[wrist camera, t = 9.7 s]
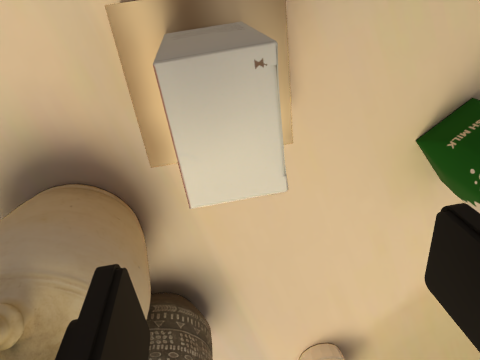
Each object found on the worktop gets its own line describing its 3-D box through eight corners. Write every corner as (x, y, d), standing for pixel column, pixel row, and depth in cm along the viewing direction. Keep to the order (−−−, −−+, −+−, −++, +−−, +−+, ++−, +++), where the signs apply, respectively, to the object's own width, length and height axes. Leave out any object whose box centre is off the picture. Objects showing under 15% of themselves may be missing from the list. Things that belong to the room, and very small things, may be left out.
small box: (163, 32, 23) (148, 57, 14) (243, 19, 24) (279, 36, 15) (187, 139, 27) (187, 213, 18) (255, 127, 28) (290, 194, 19)
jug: (142, 291, 42) (95, 605, 21) (2, 272, 38) (-241, 639, 17) (172, 188, 36) (151, 483, 14) (9, 151, 32) (-370, 488, 10)
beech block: (266, -18, 28) (284, -21, 23) (276, 120, 34) (293, 143, 29) (120, 2, 27) (104, 5, 22) (156, 140, 33) (150, 167, 28)
